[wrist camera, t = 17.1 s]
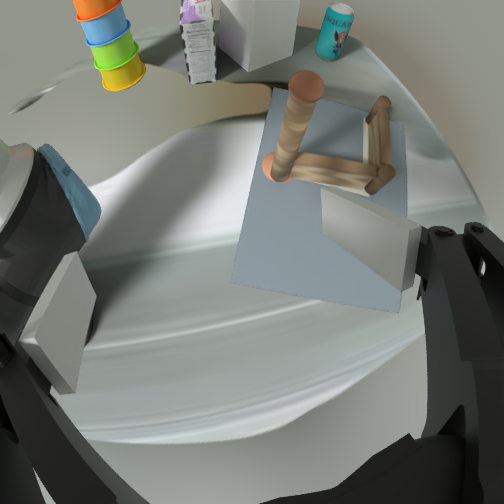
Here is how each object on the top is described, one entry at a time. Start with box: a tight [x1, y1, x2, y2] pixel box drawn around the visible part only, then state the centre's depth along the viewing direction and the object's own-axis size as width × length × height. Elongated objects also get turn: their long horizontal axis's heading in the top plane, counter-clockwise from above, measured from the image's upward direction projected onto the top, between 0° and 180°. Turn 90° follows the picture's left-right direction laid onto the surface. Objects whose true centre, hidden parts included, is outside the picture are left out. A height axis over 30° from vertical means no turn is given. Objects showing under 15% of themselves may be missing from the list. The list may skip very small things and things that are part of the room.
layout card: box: [230, 87, 407, 313], centre depth 46 cm, size 28×38×1 cm
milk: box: [219, 0, 300, 72], centre depth 39 cm, size 12×12×26 cm
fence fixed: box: [364, 96, 396, 195], centre depth 43 cm, size 2×18×7 cm, turn 169°
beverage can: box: [316, 2, 354, 61], centre depth 45 cm, size 6×6×15 cm
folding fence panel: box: [270, 70, 377, 190], centre depth 34 cm, size 16×4×22 cm, turn 84°
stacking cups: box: [73, 0, 146, 92], centre depth 32 cm, size 10×10×35 cm
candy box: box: [180, 0, 217, 85], centre depth 42 cm, size 14×6×16 cm, turn 7°
